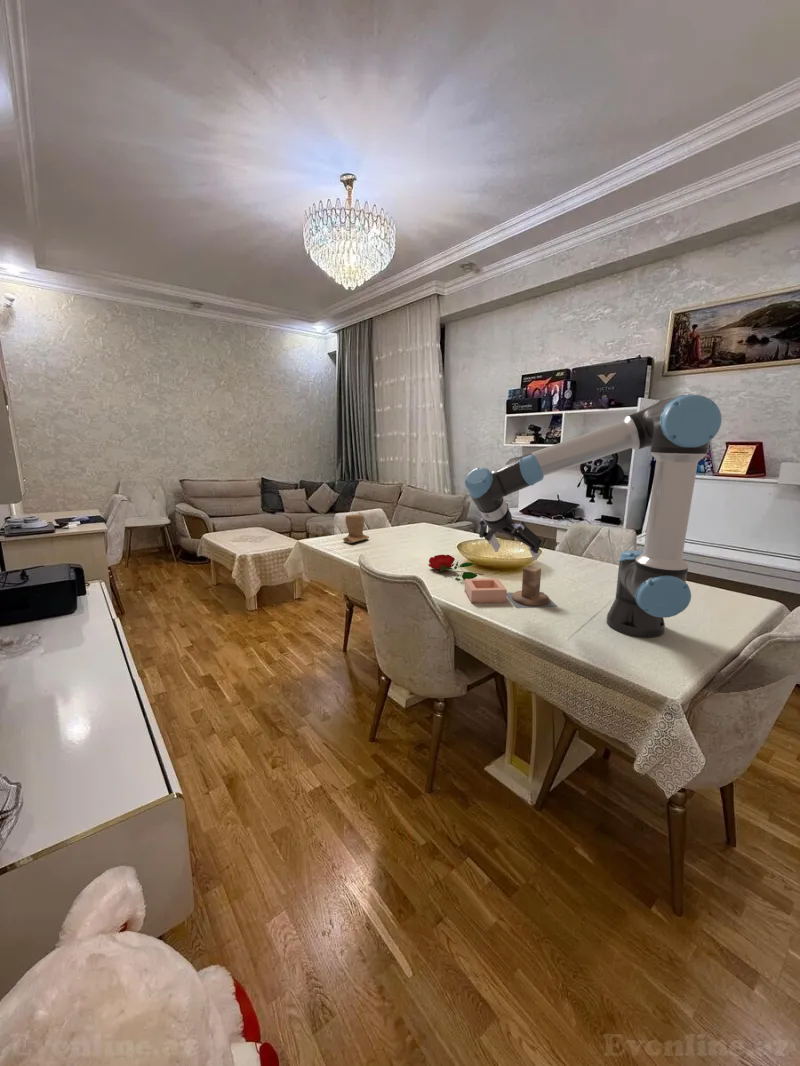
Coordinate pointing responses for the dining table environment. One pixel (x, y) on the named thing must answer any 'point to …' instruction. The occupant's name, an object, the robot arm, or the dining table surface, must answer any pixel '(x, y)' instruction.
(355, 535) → the wooden stamp
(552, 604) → the mat
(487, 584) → the dish
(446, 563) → the flower
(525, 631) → the dining table surface
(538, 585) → the lid
